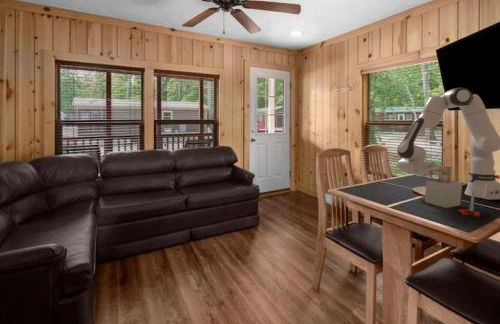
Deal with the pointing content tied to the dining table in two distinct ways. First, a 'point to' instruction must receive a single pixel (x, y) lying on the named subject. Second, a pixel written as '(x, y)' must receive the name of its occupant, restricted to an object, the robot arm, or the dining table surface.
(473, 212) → the red base grey post
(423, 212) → the dining table surface
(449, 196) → the white tissue box
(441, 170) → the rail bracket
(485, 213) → the dining table surface
